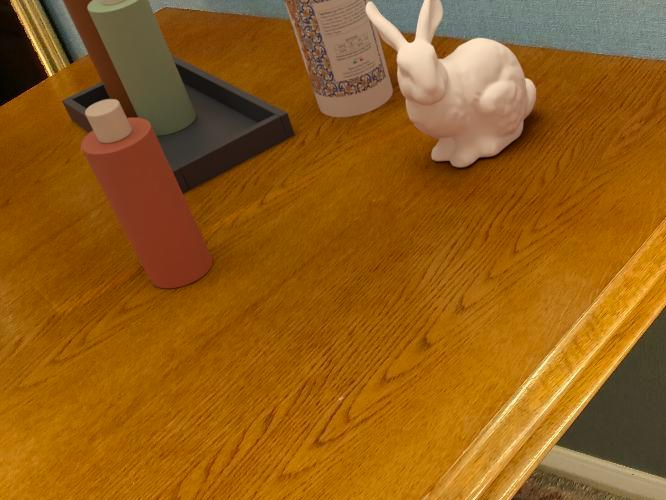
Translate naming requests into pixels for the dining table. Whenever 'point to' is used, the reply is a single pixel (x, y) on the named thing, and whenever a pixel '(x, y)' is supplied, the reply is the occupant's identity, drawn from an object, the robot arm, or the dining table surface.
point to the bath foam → (341, 55)
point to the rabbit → (459, 89)
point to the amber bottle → (99, 54)
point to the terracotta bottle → (145, 196)
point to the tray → (206, 126)
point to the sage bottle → (143, 63)
